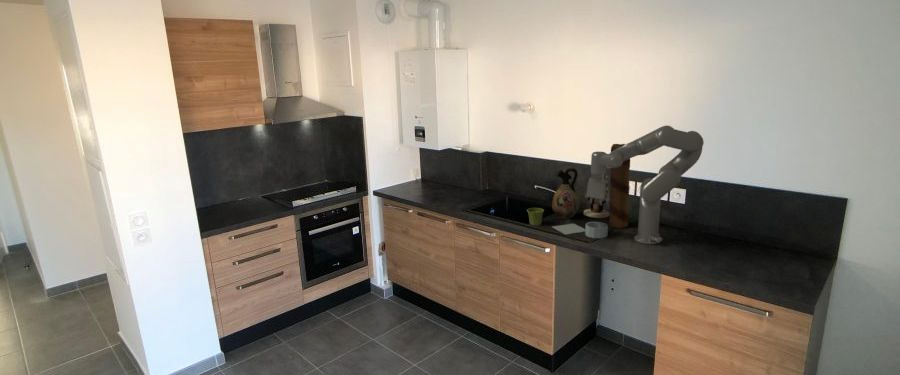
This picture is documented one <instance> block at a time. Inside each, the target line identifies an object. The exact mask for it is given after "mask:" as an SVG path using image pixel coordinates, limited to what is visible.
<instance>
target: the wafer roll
mask: <svg viewBox="0 0 900 375" xmlns="http://www.w3.org/2000/svg"><path fill="white" fill-rule="evenodd" d="M625 144H626V143H614V144H612V145H611V147H610V153H611V152H612V151H613V150H615V149H617V148H619V147H621V146H623V145H625ZM630 168H631V158H630V159H628V160H626V161H624V162H623V163H622V165H621V166H620V167H619V168H610V176H609V178H610V179H609V180H610V181H609V182H610V183H609V187H610V189H609V198H610V201H609V203H608V204H609V209H608V212H609V226H610V227H612V228H616V229H625V228H627V227H628V226H629V219H630V216H629V199H630Z"/></svg>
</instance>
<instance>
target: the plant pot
mask: <svg viewBox="0 0 900 375" xmlns="http://www.w3.org/2000/svg"><path fill="white" fill-rule="evenodd" d="M526 211H527V213H528V219H529V225H532V226H540V225H542V221H543V214H544V211H545V209H543V208H540V207H530V208H527V209H526Z"/></svg>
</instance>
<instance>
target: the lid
mask: <svg viewBox="0 0 900 375" xmlns="http://www.w3.org/2000/svg"><path fill="white" fill-rule="evenodd" d="M599 205H600V202H595V203H593V211H591V209H590V208H587V209H584V210H583V216H586V217H589V218H595V219H604V218H608V217H610V211H609V210H607V209H603V211H602V212H600V213H599V212H598V209H599Z"/></svg>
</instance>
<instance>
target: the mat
mask: <svg viewBox="0 0 900 375" xmlns="http://www.w3.org/2000/svg"><path fill="white" fill-rule="evenodd" d="M552 228H553V229H555V230H557V231H558V232H560V233H562V234H563V235H570V234H577V233H583V232H584V233H585V228H584V227H582V226H580V225H577V224H576V223H568V224H562V225H561V224H560V225H555V226H554V225H553V226H552Z"/></svg>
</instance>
